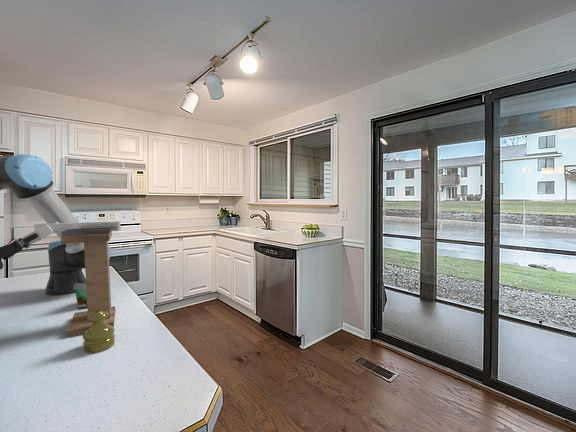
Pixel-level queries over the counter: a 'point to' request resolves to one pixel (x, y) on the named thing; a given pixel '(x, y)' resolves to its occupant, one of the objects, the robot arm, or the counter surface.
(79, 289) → the food container
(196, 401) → the counter surface
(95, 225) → the steel bar
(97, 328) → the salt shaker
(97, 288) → the walnut shelf
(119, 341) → the counter surface
